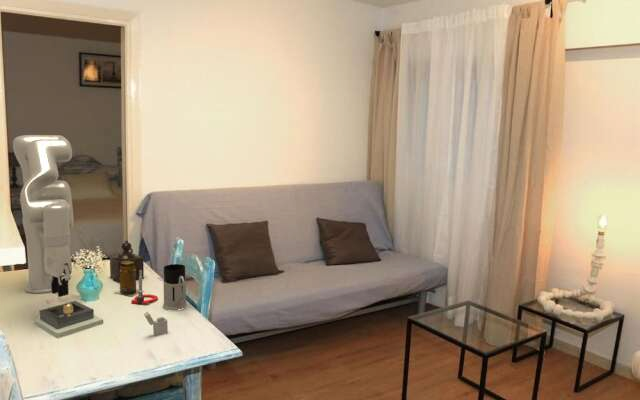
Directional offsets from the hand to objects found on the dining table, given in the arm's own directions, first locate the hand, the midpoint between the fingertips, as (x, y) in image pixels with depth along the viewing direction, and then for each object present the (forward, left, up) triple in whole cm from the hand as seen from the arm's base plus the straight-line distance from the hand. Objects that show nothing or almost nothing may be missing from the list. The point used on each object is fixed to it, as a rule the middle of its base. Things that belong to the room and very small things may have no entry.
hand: (60, 293), depth 170 cm
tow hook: (+5, +29, -10) cm, 31 cm away
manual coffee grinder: (-20, +38, -10) cm, 44 cm away
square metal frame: (+4, 0, -8) cm, 9 cm away
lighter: (+33, +14, -9) cm, 37 cm away
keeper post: (+5, 0, -8) cm, 9 cm away
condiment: (-7, +30, -10) cm, 32 cm away
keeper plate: (+5, 0, -9) cm, 11 cm away
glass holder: (+21, +32, -9) cm, 39 cm away
